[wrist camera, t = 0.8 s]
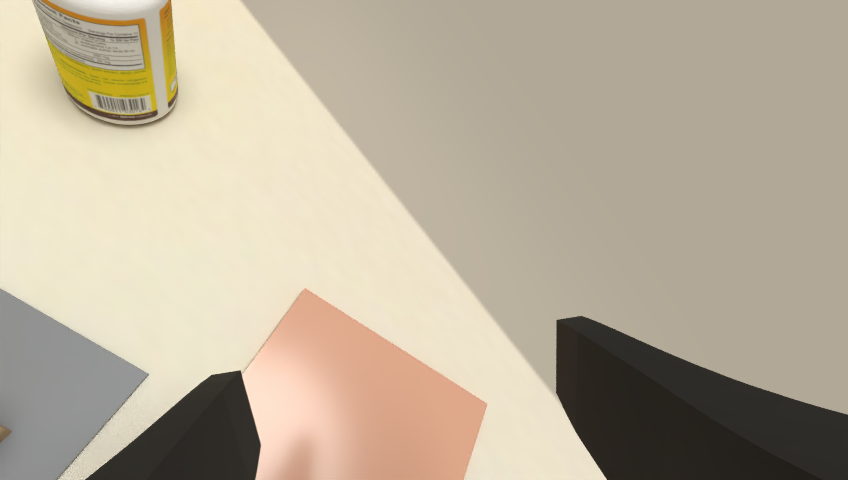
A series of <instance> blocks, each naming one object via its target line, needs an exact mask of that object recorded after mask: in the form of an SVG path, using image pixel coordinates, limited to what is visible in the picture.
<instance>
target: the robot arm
mask: <svg viewBox="0 0 848 480" xmlns="http://www.w3.org/2000/svg"><path fill="white" fill-rule="evenodd" d="M556 353H557V354H556V355H557V356H556V357H557V358H556V360H557V361H556V362H557V363H556V393H557V395H558V397H559V399H560V401H561V403H562V406H563V408H564V410H565V412H566V414H567V416H568V418H569V420H570V422H571V424H572V426H573V428H574V429H575V431H576V433H577V435H578V436H579V438H580V439H581V441H582V442H583V444H584V446H585V447H586V449H587V450H588V452H589V453H590V455H591V456H592V458H593V459H594V461H595V462H596V464H597V465H598V467H599V468H600V470H601V471H602V473H603V474H604V476H605V477H606V479H607V480H848V415H847V414H843V413H839V412H836V411H832V410H828V409H825V408H821V407H818V406H814V405H811V404H807V403H804V402H801V401H797V400H794V399H791V398H788V397H784V396H782V395H779V394H776V393H773V392H770V391H766V390H763V389H760V388H757V387H754V386H751V385H748V384H745V383H743V382H740V381H737V380H734V379H731V378H729V377H726V376H723V375H721V374H718V373H716V372H713V371H711V370H708V369H706V368H703V367H700V366H698V365H695V364H693V363H690V362H688V361H686V360H683V359H681V358H678V357H676V356H674V355H671V354H669V353H666V352H664V351H662V350H660V349H657V348H655V347H653V346H650V345H648V344H646V343H644V342H642V341H639V340H637V339H635V338H633V337H630V336H628V335H626V334H624V333H622V332H619V331H617V330H615V329H613V328H610V327H608V326H606V325H603V324H601V323H598V322H596V321H594V320H591V319H589V318H586V317H583V316H578V317H572V318H566V319H560V320H557V349H556ZM260 450H261V442H260V439H259V435H258V431H257V428H256V424H255V421H254V417H253V413H252V410H251V406H250V403H249V399H248V395H247V392H246V388H245V385H244V381H243V378H242V374H241V370H240V371H234V372H228V373H221V374H215V375H211V376H210V377H208V378H207V379H206V380H204V381H203V382H202V383H200V384H199V385H198V386H197V387H196V388H194V389H193V390H192V391H191V392H190V393H188V394H187V395H186V396H185V397H184V398H183V399H181V400H180V401H179V402H178V403H177V404H176V405H174V406H173V407H172V408H171V409H170V410H169V411H168V412H166V413H165V414H164V415H163V416H162V417H161V418H159V419H158V420H157V421H156V422H155V423H154V424H152V425H151V426H150V427H149V428H148V429H147V430H145V431H144V432H143V433H142V434H141V435H139V436H138V437H137V438H136V439H135V440H134V441H132V442H131V443H130V444H129V445H128V446H127V447H125V448H124V449H123V450H122V451H120V452H119V453H118V454H117V455H115V456H114V457H113V458H112V459H110V460H109V461H108V462H107V463H105V464H104V465H103V466H102V467H100V468H99V469H98V470H97V471H95V472H94V473H93V474H92V475H90V476H89V477H88V478H87V479H85V480H255V479H256V474H257V468H258V462H259V456H260Z"/></svg>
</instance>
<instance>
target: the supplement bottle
mask: <svg viewBox="0 0 848 480" xmlns="http://www.w3.org/2000/svg"><path fill="white" fill-rule="evenodd" d="M32 1H33V4H34V6H35V9H36V12H37V15H38V17H39V20H40V23H41V26H42V28H43V31H44V34H45V36H46V39H47V42H48V44H49V47H50V50H51V53H52V55H53V58H54V61H55V63H56V66H57V69H58V72H59V74H60V77H61V80H62V83H63V85H64V88H65V90H66V92H67V94H68V95H69V97H70V98H71V100H72V101H73V102H74V103H75V104H76V105H77V106H78V107H79V108H81V109H82V110H83V111H85V112H86V113H88V114H90V115H92V116H94V117H96V118H98V119H101V120H104V121H107V122H111V123H116V124H125V125H135V124H144V123H148V122H152V121H154V120H157V119H159V118H161V117H163V116H164V115H166V114H167V113H168V112H169V111H170V110H171V109H172V108H173V106H174V104H175V102H176V100H177V95H178V85H177V71H176V59H175V45H174V33H173V20H172V7H171V0H32Z"/></svg>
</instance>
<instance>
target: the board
mask: <svg viewBox="0 0 848 480" xmlns="http://www.w3.org/2000/svg"><path fill="white" fill-rule="evenodd" d="M242 378H243V381H244V385H245V388H246V392H247V395H248V399H249V403H250V406H251V410H252V413H253V417H254V421H255V424H256V428H257V431H258V435H259V439H260V442H261V450H260V456H259V462H258V468H257V474H256V479H255V480H463V479H464V476H465V473H466V470H467V467H468V464H469V460H470V457H471V454H472V451H473V448H474V445H475V442H476V438H477V435H478V432H479V429H480V426H481V423H482V420H483V417H484V413H485V410H486V407H487V403H485V402H484V401H482V400H480V399H479V398H477V397H476V396H474V395H473V394H471V393H469V392H468V391H466V390H465V389H463V388H462V387H460V386H458V385H457V384H455V383H454V382H452V381H450V380H449V379H447V378H446V377H444V376H443V375H441V374H439V373H438V372H436V371H435V370H433V369H432V368H430V367H428V366H427V365H425V364H424V363H422V362H421V361H419V360H417V359H416V358H414V357H413V356H411V355H410V354H408V353H406V352H405V351H403V350H402V349H400V348H398V347H397V346H395V345H394V344H392V343H391V342H389V341H387V340H386V339H384V338H383V337H381V336H380V335H378V334H376V333H375V332H373V331H372V330H370V329H369V328H367V327H365V326H364V325H362V324H361V323H359V322H358V321H356V320H354V319H353V318H351V317H350V316H348V315H346V314H345V313H343V312H342V311H340V310H339V309H337V308H335V307H334V306H332V305H331V304H329V303H328V302H326V301H324V300H323V299H321V298H320V297H318V296H317V295H315V294H313V293H312V292H310V291H309V290H307V289H306V288H305V289H304V290H303V292H302V293H301V294H300V296H299V297H298V299H297V300H296V301H295V303H294V304H293V305H292V307H291V308H290V310H289V311H288V312H287V314H286V315H285V316H284V318H283V319H282V321H281V322H280V323H279V325H278V326H277V327H276V329H275V330H274V332H273V333H272V334H271V336H270V337H269V339H268V340H267V341H266V343H265V344H264V345H263V347H262V348H261V350H260V351H259V352H258V354H257V355H256V356H255V358H254V359H253V361H252V362H251V363H250V365H249V366H248V368H247V369H246V370H245V372H244V373H243V374H242Z"/></svg>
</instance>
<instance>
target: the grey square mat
mask: <svg viewBox="0 0 848 480" xmlns="http://www.w3.org/2000/svg"><path fill="white" fill-rule="evenodd" d="M147 376H148V374H147V373H146V372H144V371H142V370H141V369H139V368H137V367H135V366H134V365H132V364H130V363H128V362H127V361H125V360H123V359H121V358H120V357H118V356H116V355H115V354H113V353H111V352H109V351H108V350H106V349H104V348H102V347H101V346H99V345H97V344H95V343H94V342H92V341H90V340H89V339H87V338H85V337H83V336H82V335H80V334H78V333H76V332H75V331H73V330H71V329H69V328H68V327H66V326H64V325H62V324H61V323H59V322H57V321H56V320H54V319H52V318H50V317H49V316H47V315H45V314H43V313H42V312H40V311H38V310H36V309H35V308H33V307H31V306H30V305H28V304H26V303H24V302H23V301H21V300H19V299H17V298H16V297H14V296H12V295H10V294H9V293H7V292H5V291H4V290H2V289H0V425H2V426H4V427H6V428H7V429H9V430H11V431H12V432H11V433H10V434H9V435H8V436H7V437H6V438H5V439H4V440H3V441H2V442H1V443H0V480H57V479H58V478H59V477H60V475H61V474H62V473H63V472H64V471H65V470H66V469H67V467H68V466H69V465H70V464H71V463H72V462H73V461H74V459H75V458H76V457H77V456H78V455H79V454H80V453H81V451H82V450H83V449H84V448H85V447H86V446H87V445H88V443H89V442H90V441H91V440H92V439H93V438H94V437H95V435H96V434H97V433H98V432H99V431H100V430H101V429H102V427H103V426H104V425H105V424H106V423H107V422H108V421H109V419H110V418H111V417H112V416H113V415H114V414H115V413H116V411H117V410H118V409H119V408H120V407H121V406H122V404H123V403H124V402H125V401H126V400H127V399H128V398H129V396H130V395H131V394H132V393H133V392H134V391H135V390H136V388H137V387H138V386H139V385H140V384H141V383H142V382H143V380H144V379H145V378H146V377H147Z"/></svg>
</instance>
